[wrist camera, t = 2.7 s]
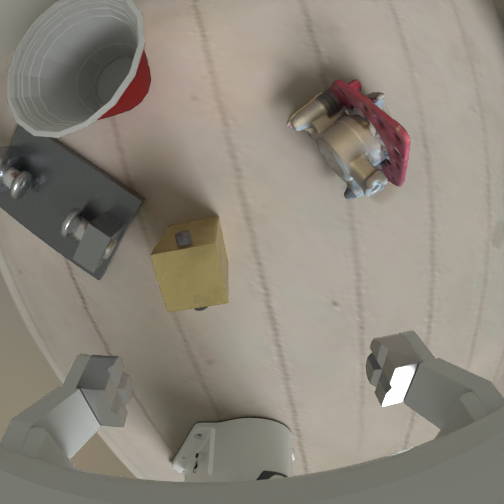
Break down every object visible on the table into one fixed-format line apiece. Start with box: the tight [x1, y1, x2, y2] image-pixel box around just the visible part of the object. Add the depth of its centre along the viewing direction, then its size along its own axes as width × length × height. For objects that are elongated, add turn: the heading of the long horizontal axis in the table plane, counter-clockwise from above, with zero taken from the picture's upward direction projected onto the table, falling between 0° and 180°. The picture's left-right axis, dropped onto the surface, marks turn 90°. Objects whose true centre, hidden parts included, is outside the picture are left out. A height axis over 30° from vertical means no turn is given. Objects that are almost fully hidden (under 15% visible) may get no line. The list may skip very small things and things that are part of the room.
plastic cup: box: [7, 0, 151, 138], centre depth 19 cm, size 11×11×12 cm
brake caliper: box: [287, 79, 410, 200], centre depth 25 cm, size 11×10×11 cm
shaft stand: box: [0, 125, 145, 280], centre depth 25 cm, size 10×17×5 cm, turn 54°
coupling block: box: [150, 216, 228, 312], centre depth 27 cm, size 7×5×8 cm
